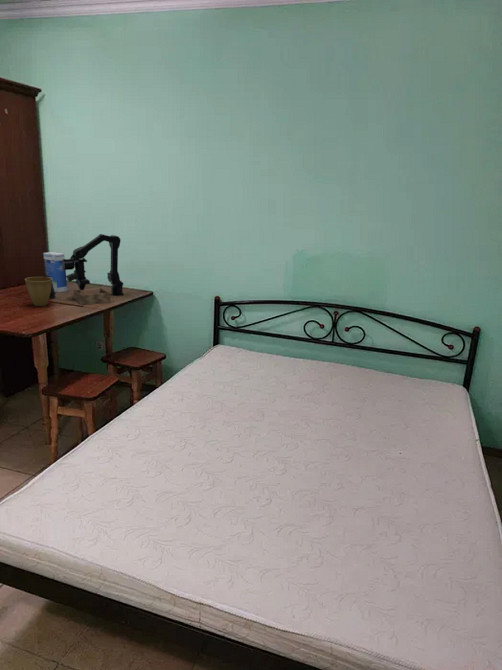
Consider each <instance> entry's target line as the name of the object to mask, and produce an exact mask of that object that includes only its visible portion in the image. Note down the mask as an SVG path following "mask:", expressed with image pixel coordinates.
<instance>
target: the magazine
mask: <svg viewBox="0 0 502 670" xmlns="http://www.w3.org/2000/svg"><path fill="white" fill-rule="evenodd" d="M43 277H50V276H48V275H46V274H45V275H44V276H43ZM56 293H57V292H54V288H53V283H52V286H51V292H50V297H49V300H50V299H51V300H53V299H55V298H56Z"/></svg>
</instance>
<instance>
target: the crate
mask: <svg viewBox="0 0 502 670" xmlns="http://www.w3.org/2000/svg"><path fill="white" fill-rule="evenodd" d="M73 300H74V301H75V302H77V303H78V304H80V305H81V306H87V305H96V304H106V303H111V292H109V291H107V290H105V289H103V288H101V287H100V294H91V295H81V294H80V290H79V289H78V290H77V289H76V290H73Z"/></svg>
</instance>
